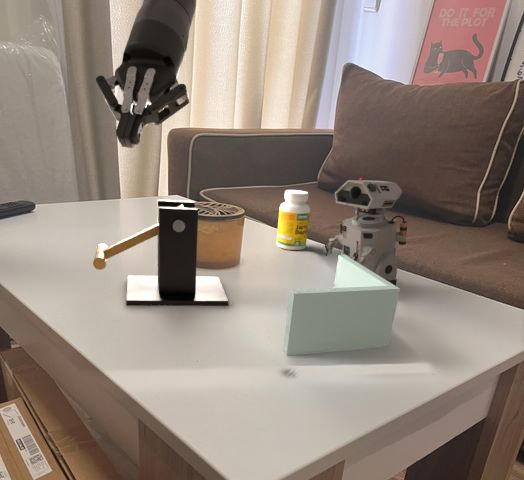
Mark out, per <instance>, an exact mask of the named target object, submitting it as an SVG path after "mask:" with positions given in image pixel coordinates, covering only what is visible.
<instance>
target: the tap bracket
mask: <svg viewBox="0 0 524 480" xmlns="http://www.w3.org/2000/svg"><path fill="white" fill-rule="evenodd" d="M181 204H183V206H184V208H181V207H177V206H179V205H181ZM158 223H159V235H157V275H136V274H135V275H132V274H131V275H129V274H128V275H127V277H126V278H127V279H126V297H125V305H126V306H128V307H129V306H140V307H141V306H142V307H143V306H146V307H147V306H149V307H151V306H157V307H158V306H164V307H165V306H168V307H169V306H171V307H176V306H177V307H179V306H182V307H186V306H187V307H188V306H189V307H192V306H193V307H194V306H195V307H199V306H200V307H205V306H206V307H221V306H222V307H228V306H229V303H230V301H229V298H228V296H227V294H226V291H225V289H224V286H223V284H222V282H221V279H220V277H219V276H202V275H201V276H200V275H199V276H198V275H197V262H198V261H197V259H198V258H197V257H198V233H199V232H198V229H199V209H198V208H197V207H196V202H195V201H194V200H179V199H157V224H158Z"/></svg>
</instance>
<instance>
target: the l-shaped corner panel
mask: <svg viewBox="0 0 524 480" xmlns="http://www.w3.org/2000/svg"><path fill="white" fill-rule="evenodd" d="M336 268H337V269H336ZM336 268H335V275H334V283H333V287H326V288H325V287H324V288H323V287H322V288H302V289H301V288H300V289H290V290H289V295H288V304H287V311H286V319H285V327H284V337H283V345H282V352H283V353H284V355H286V356H297V355H298V356H299V355H308V354H318V353H319V354H320V353H329V352H341V351H350V350H351V351H352V350H361V349H372V348H385V347H389V342H390V338H391V334H392V330H393V324H394V320H395V315H396V310H397V305H398V301H399V296H400V292H401V288H400V287H398V286H397V285H396V286H395V285H393V284H392V283H390V282H388V281H387V280H385V279H383V278H382V277H380V276H379V275H377V274H375V273H374V272H372V271H371V270H369V269H367V268H366V267H364V266H362V265H361V264H359V263H358V262H356V261H354V260H353V259H351V258H349V257H348V256H346V255H341V254H338V257H337V263H336Z"/></svg>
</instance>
